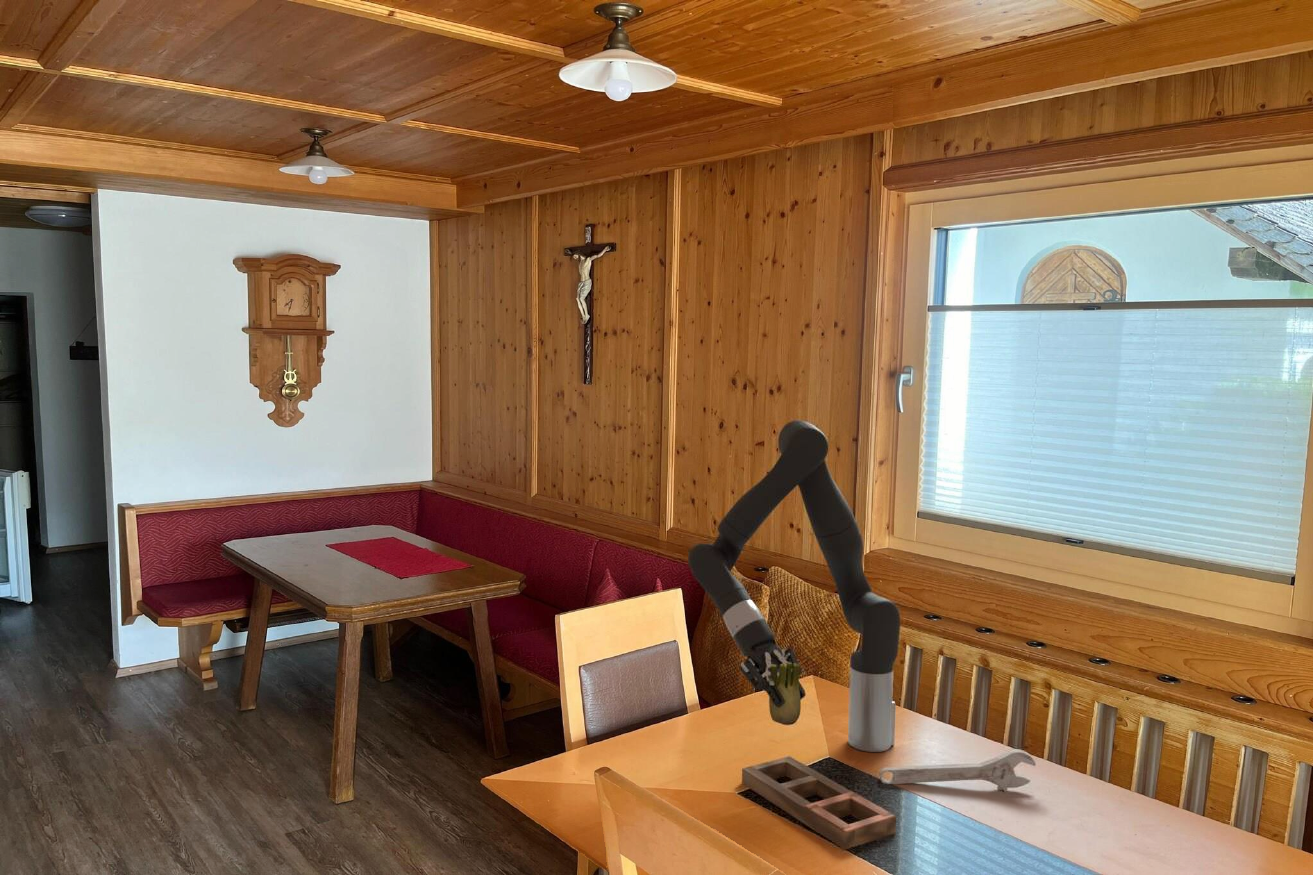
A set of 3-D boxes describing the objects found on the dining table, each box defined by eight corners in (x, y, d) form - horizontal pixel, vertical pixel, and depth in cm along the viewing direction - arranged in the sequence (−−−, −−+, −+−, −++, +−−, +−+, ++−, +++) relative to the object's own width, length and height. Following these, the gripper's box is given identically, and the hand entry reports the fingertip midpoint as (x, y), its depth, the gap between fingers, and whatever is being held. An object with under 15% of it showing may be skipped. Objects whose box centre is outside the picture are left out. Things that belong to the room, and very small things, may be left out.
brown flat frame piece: (789, 770, 195) (789, 754, 194) (895, 833, 169) (896, 815, 169) (741, 782, 189) (742, 766, 188) (844, 850, 163) (845, 831, 163)
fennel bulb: (767, 724, 185) (768, 664, 184) (773, 715, 189) (774, 657, 188) (796, 729, 183) (798, 668, 182) (801, 720, 187) (803, 660, 186)
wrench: (881, 793, 191) (1035, 787, 187) (881, 797, 190) (1038, 791, 185) (877, 755, 191) (1032, 748, 187) (878, 758, 189) (1034, 751, 185)
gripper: (733, 624, 185) (777, 700, 177) (782, 611, 195) (826, 684, 187) (713, 644, 190) (756, 719, 182) (762, 631, 199) (805, 702, 191)
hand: (791, 701), depth 184 cm, fingers closed on fennel bulb, 5 cm apart
